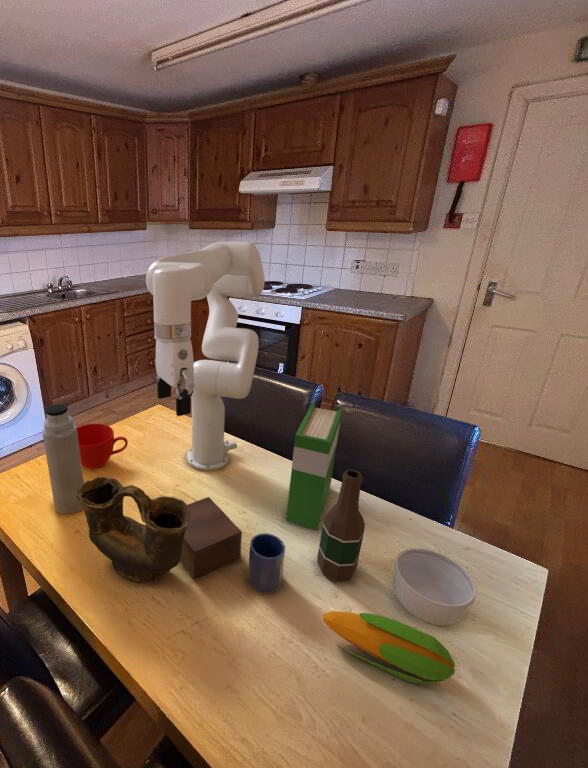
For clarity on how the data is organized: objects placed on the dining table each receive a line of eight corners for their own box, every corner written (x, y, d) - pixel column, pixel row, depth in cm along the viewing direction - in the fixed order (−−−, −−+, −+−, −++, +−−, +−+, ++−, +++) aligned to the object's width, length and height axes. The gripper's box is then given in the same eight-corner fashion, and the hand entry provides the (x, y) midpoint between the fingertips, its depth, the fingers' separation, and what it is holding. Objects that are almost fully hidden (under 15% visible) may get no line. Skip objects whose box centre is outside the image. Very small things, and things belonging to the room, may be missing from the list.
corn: (463, 673, 60) (321, 616, 69) (451, 708, 63) (315, 650, 71) (458, 632, 66) (328, 585, 75) (446, 666, 69) (322, 617, 78)
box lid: (165, 515, 93) (164, 512, 93) (208, 499, 98) (208, 496, 98) (194, 555, 83) (194, 552, 82) (241, 534, 88) (241, 531, 87)
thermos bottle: (61, 493, 112) (46, 399, 101) (89, 494, 111) (78, 400, 100) (49, 513, 105) (32, 414, 94) (80, 514, 104) (67, 416, 93)
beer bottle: (354, 558, 90) (373, 465, 80) (356, 587, 83) (377, 490, 73) (317, 550, 92) (331, 459, 83) (315, 577, 85) (331, 481, 76)
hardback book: (302, 480, 115) (311, 403, 106) (329, 488, 112) (342, 409, 102) (285, 520, 101) (295, 434, 91) (317, 530, 98) (330, 442, 88)
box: (166, 540, 96) (166, 517, 93) (209, 523, 100) (209, 500, 98) (194, 580, 85) (194, 555, 83) (240, 558, 90) (241, 534, 88)
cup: (266, 561, 89) (269, 529, 86) (288, 584, 84) (292, 550, 80) (241, 573, 87) (243, 540, 83) (261, 598, 81) (265, 564, 78)
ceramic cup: (126, 475, 119) (124, 445, 115) (67, 475, 119) (63, 446, 115) (131, 451, 131) (129, 423, 127) (78, 451, 131) (74, 423, 127)
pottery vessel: (74, 562, 90) (62, 487, 82) (103, 529, 99) (95, 459, 91) (177, 605, 80) (175, 525, 72) (199, 565, 89) (200, 489, 81)
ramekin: (469, 646, 72) (480, 618, 69) (385, 613, 78) (392, 586, 75) (464, 589, 82) (473, 562, 80) (390, 564, 88) (397, 539, 86)
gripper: (209, 338, 79) (207, 418, 86) (171, 319, 93) (172, 389, 100) (174, 343, 76) (175, 425, 83) (140, 323, 91) (143, 394, 97)
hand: (173, 405), depth 91 cm, fingers open, 9 cm apart
